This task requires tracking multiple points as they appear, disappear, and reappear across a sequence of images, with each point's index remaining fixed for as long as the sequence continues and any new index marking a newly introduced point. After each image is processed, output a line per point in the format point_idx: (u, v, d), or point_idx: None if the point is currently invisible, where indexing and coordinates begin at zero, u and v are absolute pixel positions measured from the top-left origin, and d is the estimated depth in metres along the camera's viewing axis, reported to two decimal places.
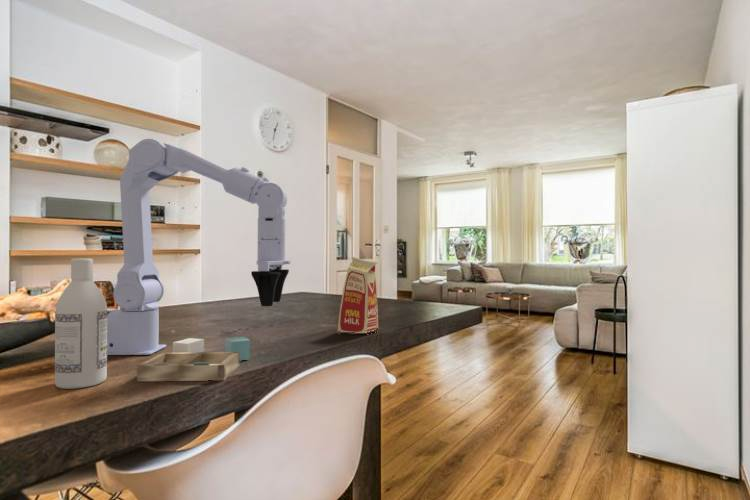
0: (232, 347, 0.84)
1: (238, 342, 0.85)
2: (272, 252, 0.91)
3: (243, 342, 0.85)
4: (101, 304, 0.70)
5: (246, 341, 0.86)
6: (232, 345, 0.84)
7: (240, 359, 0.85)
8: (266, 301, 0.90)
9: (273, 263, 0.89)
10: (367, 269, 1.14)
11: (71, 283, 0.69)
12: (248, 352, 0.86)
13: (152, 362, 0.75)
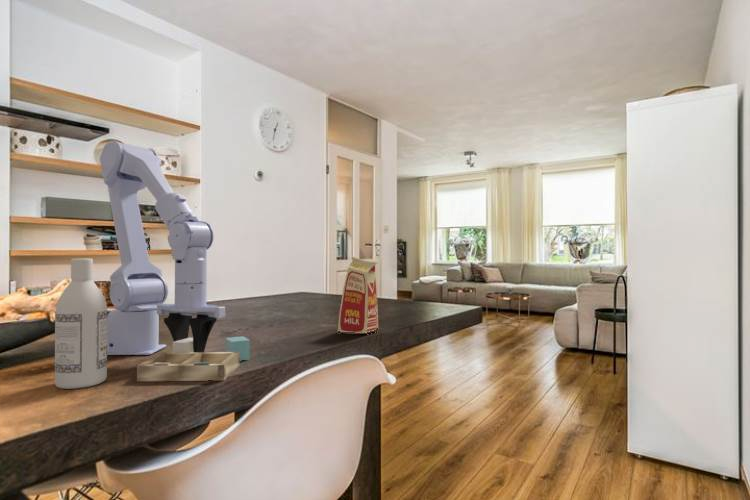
0: (232, 347, 0.84)
1: (238, 342, 0.85)
2: None
3: (243, 342, 0.85)
4: (101, 304, 0.70)
5: (246, 341, 0.86)
6: (232, 345, 0.84)
7: (240, 359, 0.85)
8: None
9: (164, 307, 0.85)
10: (367, 269, 1.15)
11: (71, 283, 0.69)
12: (248, 352, 0.86)
13: (152, 362, 0.75)
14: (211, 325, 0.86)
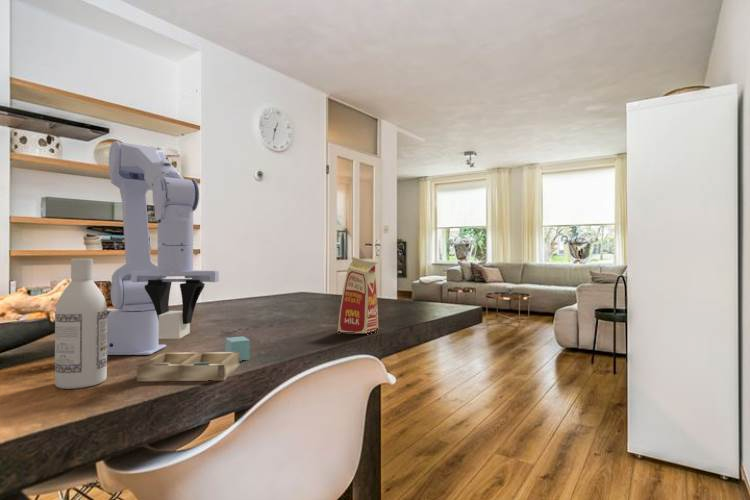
0: (232, 347, 0.84)
1: (238, 342, 0.85)
2: None
3: (243, 342, 0.85)
4: (101, 304, 0.70)
5: (246, 341, 0.86)
6: (232, 345, 0.84)
7: (240, 359, 0.85)
8: None
9: (143, 273, 0.76)
10: (367, 269, 1.14)
11: (71, 283, 0.69)
12: (248, 352, 0.86)
13: (152, 362, 0.75)
14: (199, 292, 0.79)
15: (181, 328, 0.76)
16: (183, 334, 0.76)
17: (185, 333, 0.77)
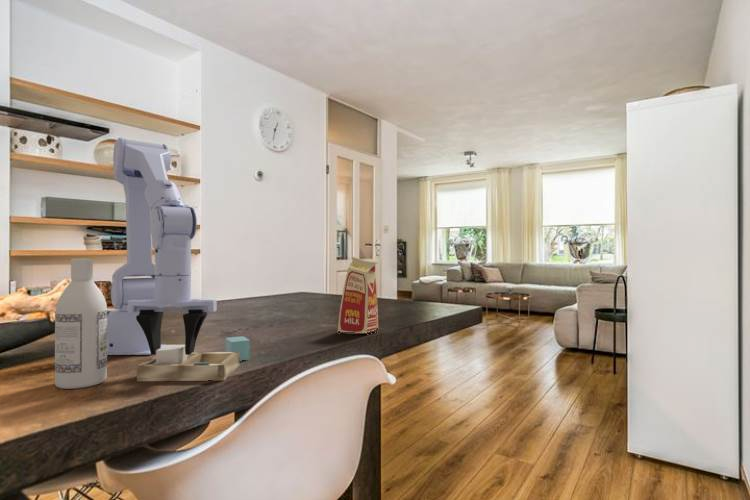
0: (232, 347, 0.84)
1: (238, 342, 0.85)
2: None
3: (243, 342, 0.85)
4: (101, 304, 0.70)
5: (246, 341, 0.86)
6: (232, 345, 0.84)
7: (240, 359, 0.85)
8: None
9: (140, 304, 0.75)
10: (367, 269, 1.14)
11: (71, 283, 0.69)
12: (248, 352, 0.86)
13: (152, 362, 0.75)
14: (202, 321, 0.78)
15: (179, 363, 0.75)
16: None
17: None
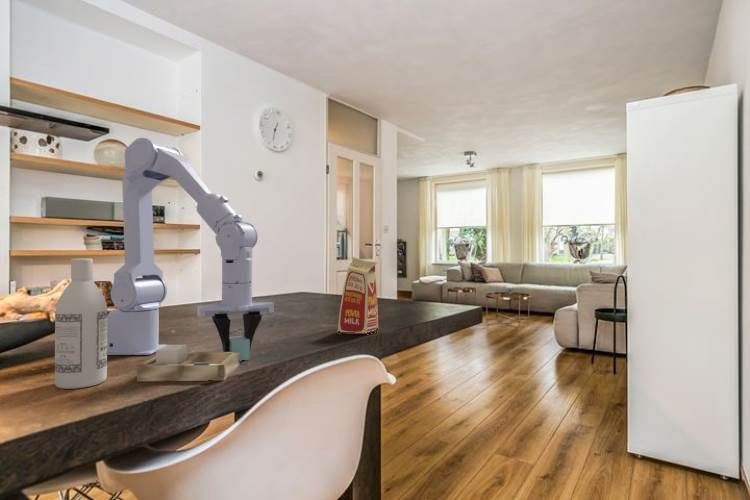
0: (232, 346, 0.84)
1: (238, 341, 0.85)
2: (224, 296, 0.85)
3: (243, 341, 0.85)
4: (101, 304, 0.70)
5: (246, 340, 0.86)
6: (232, 344, 0.84)
7: (240, 358, 0.85)
8: (224, 347, 0.86)
9: (213, 309, 0.84)
10: (367, 269, 1.14)
11: (71, 283, 0.69)
12: (248, 351, 0.86)
13: (152, 362, 0.75)
14: None
15: (179, 363, 0.75)
16: None
17: None
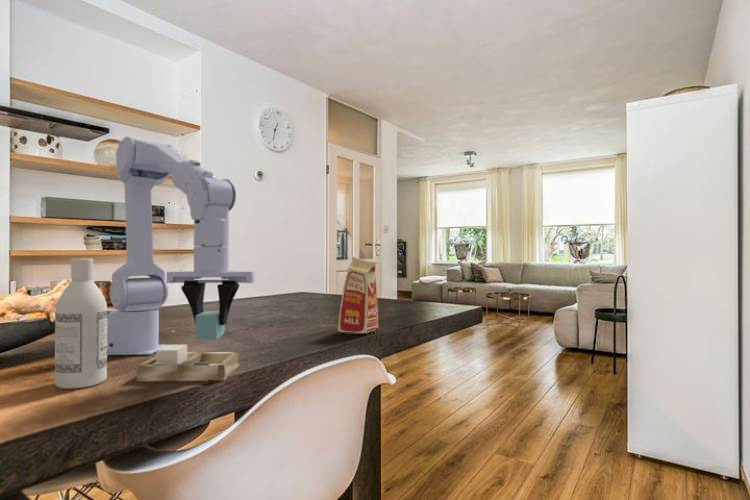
0: (196, 322, 0.74)
1: (203, 317, 0.74)
2: None
3: (208, 317, 0.74)
4: (101, 304, 0.70)
5: (212, 316, 0.74)
6: (196, 319, 0.74)
7: (205, 336, 0.74)
8: None
9: (180, 274, 0.75)
10: (367, 269, 1.14)
11: (71, 283, 0.69)
12: (215, 329, 0.74)
13: (152, 362, 0.75)
14: (234, 293, 0.79)
15: (179, 363, 0.75)
16: None
17: None
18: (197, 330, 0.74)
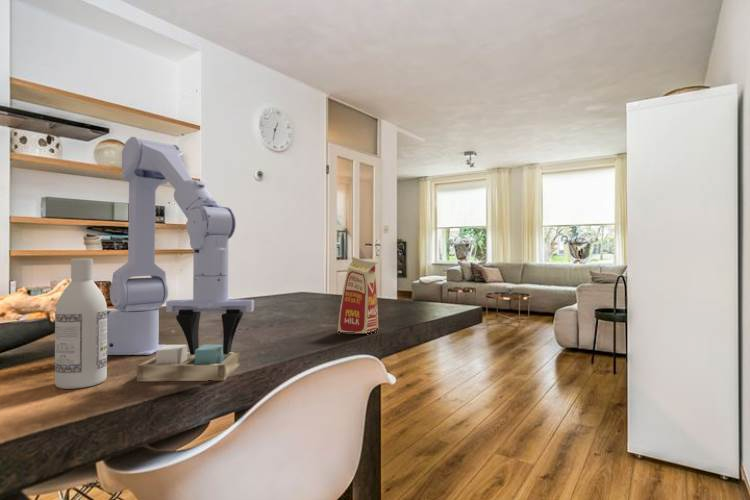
0: (195, 356, 0.74)
1: (202, 351, 0.74)
2: (193, 290, 0.76)
3: (208, 352, 0.74)
4: (101, 304, 0.70)
5: (212, 351, 0.74)
6: (195, 354, 0.74)
7: None
8: None
9: (179, 304, 0.75)
10: (367, 269, 1.14)
11: (71, 283, 0.69)
12: None
13: (152, 362, 0.75)
14: (238, 321, 0.78)
15: (179, 363, 0.75)
16: None
17: None
18: None
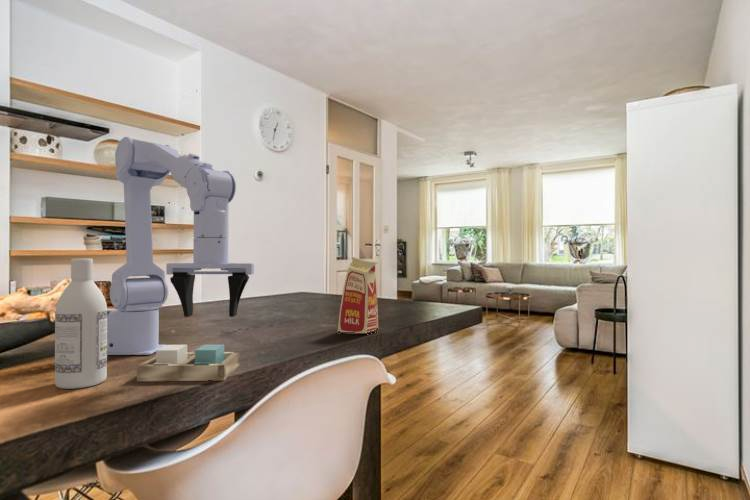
0: (195, 356, 0.74)
1: (202, 351, 0.74)
2: (193, 253, 0.76)
3: (208, 352, 0.74)
4: (101, 304, 0.70)
5: (212, 351, 0.74)
6: (195, 354, 0.74)
7: None
8: None
9: (179, 266, 0.75)
10: (367, 269, 1.14)
11: (71, 283, 0.69)
12: None
13: (152, 362, 0.75)
14: (244, 284, 0.79)
15: (179, 363, 0.75)
16: None
17: None
18: None
